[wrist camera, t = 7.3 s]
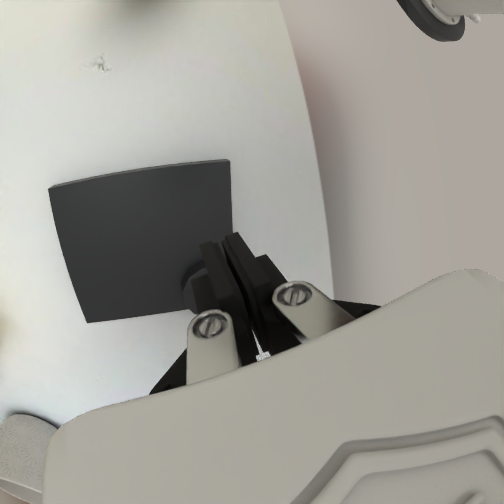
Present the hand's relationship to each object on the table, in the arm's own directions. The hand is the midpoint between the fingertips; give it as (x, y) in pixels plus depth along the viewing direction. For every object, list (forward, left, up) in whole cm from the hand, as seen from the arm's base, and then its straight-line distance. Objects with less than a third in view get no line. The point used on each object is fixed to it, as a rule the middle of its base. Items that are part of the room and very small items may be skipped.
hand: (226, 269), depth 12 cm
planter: (+35, +35, -15) cm, 52 cm away
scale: (+5, +4, -14) cm, 16 cm away
